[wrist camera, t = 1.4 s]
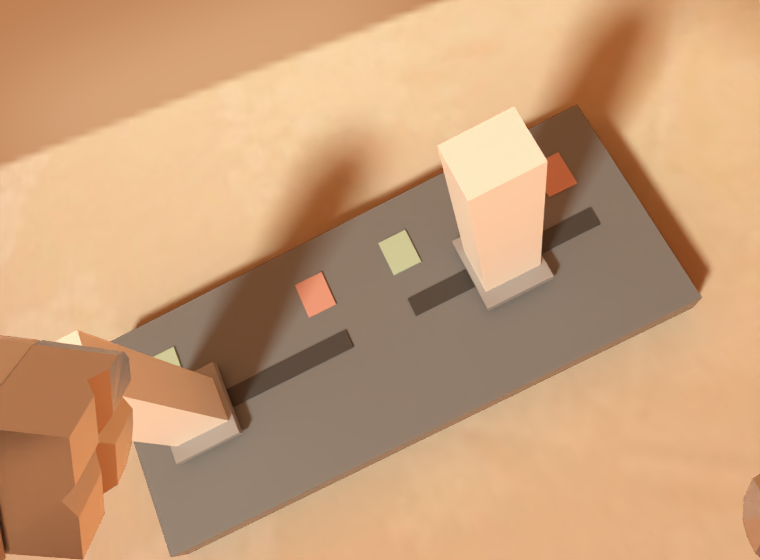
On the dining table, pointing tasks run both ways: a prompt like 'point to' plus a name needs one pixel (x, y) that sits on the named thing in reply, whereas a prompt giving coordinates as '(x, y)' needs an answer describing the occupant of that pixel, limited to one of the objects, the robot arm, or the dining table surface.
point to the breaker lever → (173, 402)
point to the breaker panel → (398, 336)
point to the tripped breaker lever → (498, 206)
